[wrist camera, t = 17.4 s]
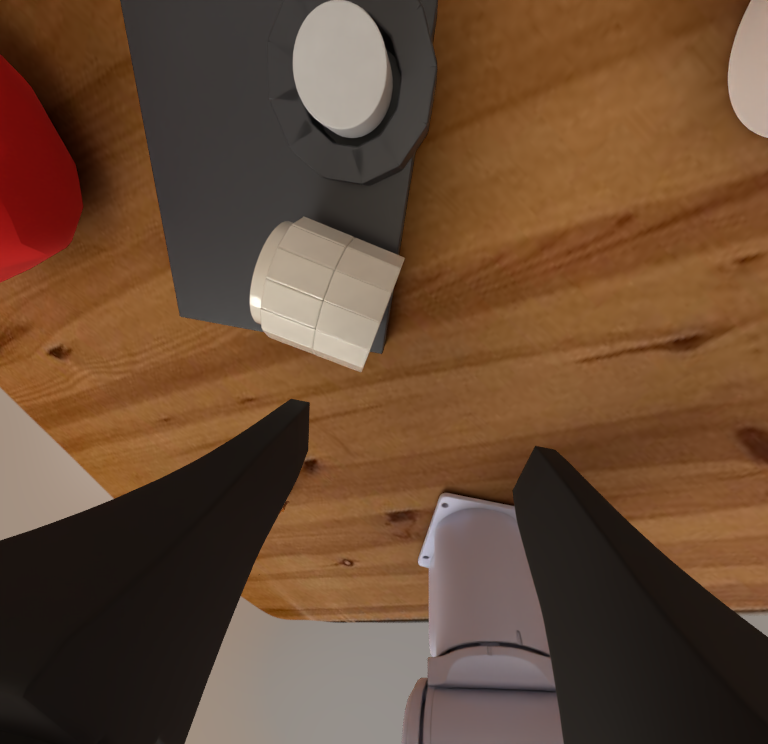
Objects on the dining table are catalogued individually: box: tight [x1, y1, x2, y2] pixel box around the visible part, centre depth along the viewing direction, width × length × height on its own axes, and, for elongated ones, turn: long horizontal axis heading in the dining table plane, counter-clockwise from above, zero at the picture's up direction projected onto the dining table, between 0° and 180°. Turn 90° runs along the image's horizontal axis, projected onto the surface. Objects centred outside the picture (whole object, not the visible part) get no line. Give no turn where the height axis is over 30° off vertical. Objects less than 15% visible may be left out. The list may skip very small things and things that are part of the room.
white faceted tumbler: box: [250, 217, 405, 372], centre depth 14 cm, size 5×5×5 cm
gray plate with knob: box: [120, 0, 438, 354], centre depth 14 cm, size 14×12×3 cm
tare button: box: [293, 0, 393, 138], centre depth 10 cm, size 3×3×2 cm
